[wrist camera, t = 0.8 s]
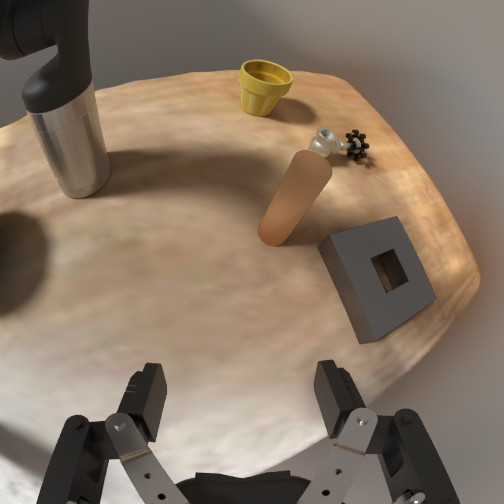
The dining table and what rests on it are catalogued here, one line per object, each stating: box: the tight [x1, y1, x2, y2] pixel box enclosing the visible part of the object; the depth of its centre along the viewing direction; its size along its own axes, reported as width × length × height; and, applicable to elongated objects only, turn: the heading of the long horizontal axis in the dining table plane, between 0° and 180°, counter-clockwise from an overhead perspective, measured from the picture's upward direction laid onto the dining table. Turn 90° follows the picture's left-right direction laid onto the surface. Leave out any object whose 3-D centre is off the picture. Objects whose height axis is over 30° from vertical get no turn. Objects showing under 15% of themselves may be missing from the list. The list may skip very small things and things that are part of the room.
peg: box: [258, 150, 332, 246], centre depth 33 cm, size 4×4×15 cm
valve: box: [308, 128, 369, 161], centre depth 48 cm, size 7×7×12 cm
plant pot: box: [239, 60, 293, 116], centre depth 48 cm, size 10×10×10 cm
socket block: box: [318, 216, 436, 344], centre depth 39 cm, size 16×16×4 cm
